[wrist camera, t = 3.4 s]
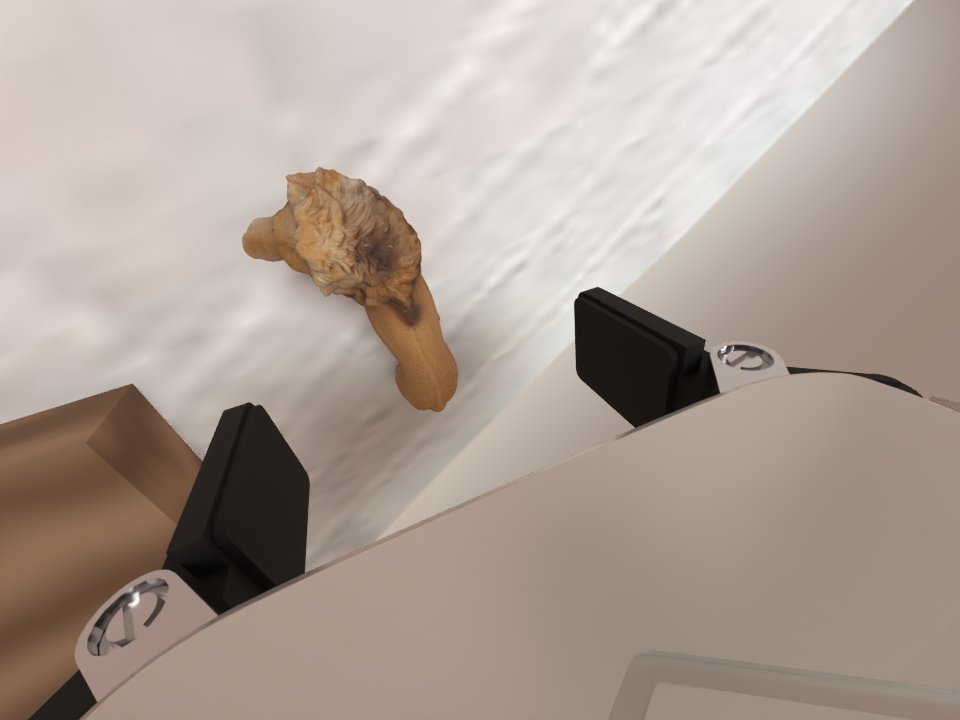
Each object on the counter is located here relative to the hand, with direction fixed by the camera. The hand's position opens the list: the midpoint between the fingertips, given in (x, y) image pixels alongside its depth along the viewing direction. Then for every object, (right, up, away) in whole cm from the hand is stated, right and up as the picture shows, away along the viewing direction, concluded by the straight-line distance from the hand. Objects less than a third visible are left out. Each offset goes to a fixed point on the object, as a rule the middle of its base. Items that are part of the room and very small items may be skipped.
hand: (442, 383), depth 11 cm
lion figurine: (-5, +5, +10) cm, 12 cm away
